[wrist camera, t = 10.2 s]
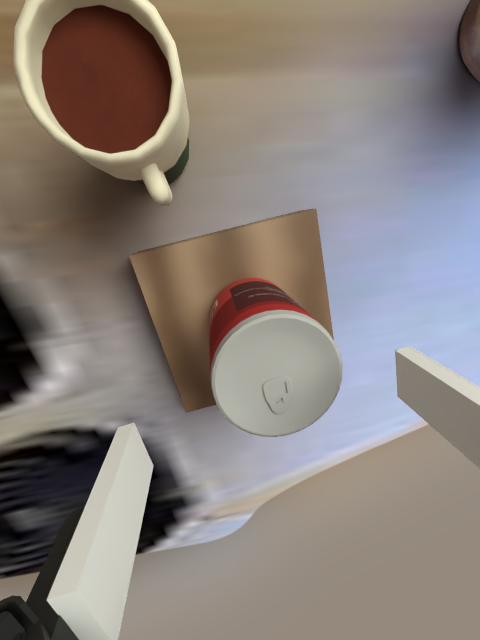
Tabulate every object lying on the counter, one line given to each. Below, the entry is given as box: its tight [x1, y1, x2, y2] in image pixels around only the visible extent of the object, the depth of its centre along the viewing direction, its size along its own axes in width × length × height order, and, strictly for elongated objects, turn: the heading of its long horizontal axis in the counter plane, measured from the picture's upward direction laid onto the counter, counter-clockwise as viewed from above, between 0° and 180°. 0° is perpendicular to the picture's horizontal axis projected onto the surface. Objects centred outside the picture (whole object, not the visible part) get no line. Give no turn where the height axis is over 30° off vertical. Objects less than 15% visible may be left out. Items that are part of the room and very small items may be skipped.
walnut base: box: [129, 209, 334, 412], centre depth 28 cm, size 16×16×4 cm
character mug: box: [13, 0, 190, 205], centre depth 19 cm, size 11×7×13 cm, turn 21°
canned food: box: [209, 278, 342, 437], centre depth 21 cm, size 8×8×11 cm
